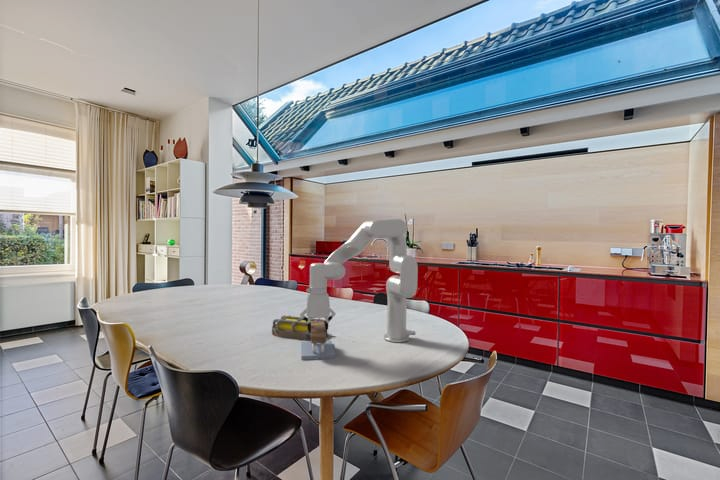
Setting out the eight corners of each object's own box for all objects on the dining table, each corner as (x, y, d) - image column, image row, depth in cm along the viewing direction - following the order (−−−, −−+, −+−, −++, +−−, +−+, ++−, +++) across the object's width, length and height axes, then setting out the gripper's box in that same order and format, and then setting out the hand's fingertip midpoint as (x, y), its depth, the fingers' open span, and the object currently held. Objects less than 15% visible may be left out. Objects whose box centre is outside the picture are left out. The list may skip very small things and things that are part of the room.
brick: (325, 342, 138) (325, 330, 138) (311, 343, 137) (311, 331, 137) (323, 331, 154) (323, 320, 154) (310, 332, 153) (310, 321, 153)
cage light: (281, 313, 181) (331, 318, 172) (281, 327, 181) (331, 333, 172) (266, 320, 167) (320, 325, 158) (266, 335, 167) (319, 342, 158)
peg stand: (331, 343, 156) (331, 332, 155) (335, 358, 138) (335, 345, 138) (301, 345, 153) (301, 333, 153) (301, 359, 135) (301, 346, 135)
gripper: (298, 293, 140) (297, 334, 140) (338, 292, 143) (338, 333, 143) (298, 290, 147) (298, 329, 147) (336, 289, 150) (336, 328, 151)
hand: (317, 330), depth 145 cm, fingers open, 6 cm apart
